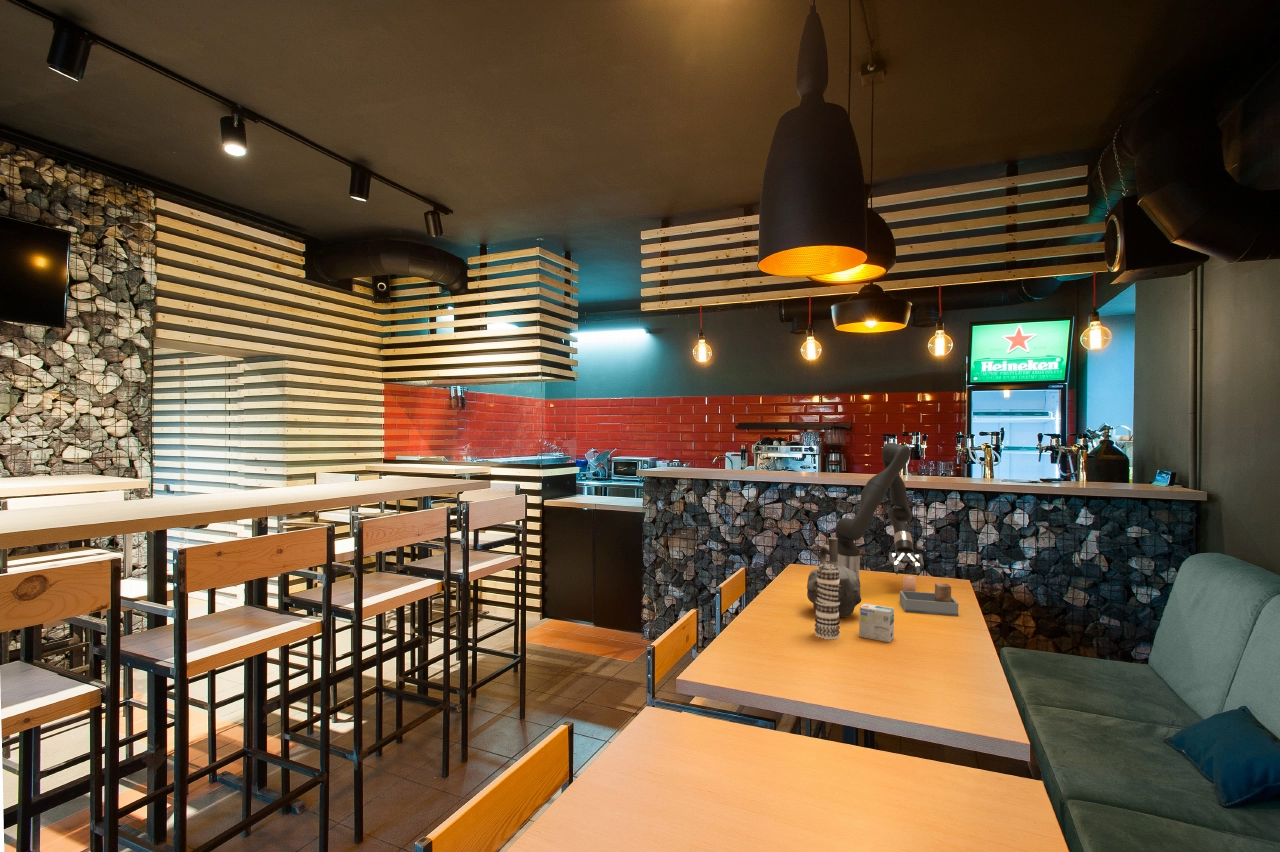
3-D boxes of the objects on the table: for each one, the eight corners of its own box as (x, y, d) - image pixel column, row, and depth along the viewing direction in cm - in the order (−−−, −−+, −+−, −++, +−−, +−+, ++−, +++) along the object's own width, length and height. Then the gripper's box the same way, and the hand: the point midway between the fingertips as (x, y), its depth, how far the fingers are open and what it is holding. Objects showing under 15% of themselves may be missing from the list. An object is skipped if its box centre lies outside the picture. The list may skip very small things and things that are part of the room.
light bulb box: (894, 637, 228) (894, 607, 228) (890, 643, 223) (891, 611, 222) (863, 632, 234) (863, 602, 234) (858, 637, 228) (859, 606, 228)
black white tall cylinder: (810, 637, 227) (812, 566, 227) (816, 629, 236) (818, 561, 235) (837, 641, 223) (838, 569, 223) (842, 633, 231) (843, 564, 231)
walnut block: (937, 610, 259) (937, 585, 259) (934, 607, 264) (935, 583, 264) (950, 611, 258) (951, 586, 258) (947, 608, 263) (948, 583, 262)
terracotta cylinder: (903, 600, 277) (904, 577, 277) (902, 597, 282) (902, 574, 282) (916, 601, 276) (916, 578, 276) (914, 598, 281) (914, 575, 281)
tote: (905, 612, 260) (905, 599, 260) (899, 602, 274) (899, 590, 274) (958, 616, 255) (958, 603, 255) (949, 606, 270) (949, 594, 269)
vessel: (790, 606, 265) (791, 533, 265) (835, 602, 272) (836, 531, 272) (826, 624, 242) (827, 544, 242) (874, 619, 249) (875, 542, 249)
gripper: (888, 537, 294) (891, 568, 283) (921, 539, 291) (926, 570, 280) (886, 547, 299) (889, 577, 288) (919, 549, 296) (923, 580, 285)
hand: (907, 574), depth 284 cm, fingers open, 8 cm apart
